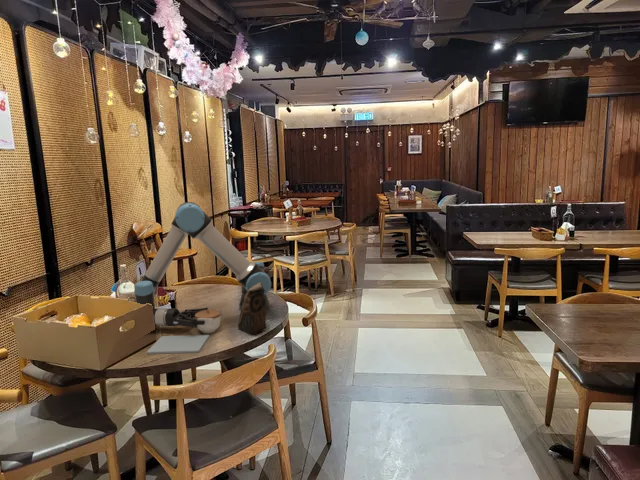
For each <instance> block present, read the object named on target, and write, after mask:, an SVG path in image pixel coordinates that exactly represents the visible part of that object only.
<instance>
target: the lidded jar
mask: <svg viewBox="0 0 640 480" xmlns="http://www.w3.org/2000/svg"><path fill="white" fill-rule="evenodd" d="M218 310H219V309H209V308H208V309H207V310H204V311H200V312H198V313H196V314H195V317H194V319H196V320H197V319H198V318H213V325H197V327H196V328H198V330H200V332H202V334H212V333H215V332H216V331H217V330H218V328H219V327H220V325H221V321H222V320H221V319H222V318H221V317H222V316H220V315H221V312H220V311H218Z"/></svg>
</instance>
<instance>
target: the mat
mask: <svg viewBox="0 0 640 480" xmlns="http://www.w3.org/2000/svg"><path fill="white" fill-rule="evenodd" d="M209 338H210V334H195V335H194V334H193V335H191V334H189V335H162V336H160V337H159V339H158V340H156V342H154V343H153V345H152V346H151V347H150V348H149V349H148V350H147V351H146V355H159V354H160V355H162V354H194V353H195V354H197V353H200V351H201V350H202V349H203V347H204V346H205V344H206V343H207V341H208V340H209Z"/></svg>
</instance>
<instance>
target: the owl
mask: <svg viewBox="0 0 640 480" xmlns="http://www.w3.org/2000/svg"><path fill="white" fill-rule="evenodd" d="M264 292H265V290H264V288H263V286H262V283H261V282H259V283H258V284H256V285H254V286H252V287H251V288H250V289H249V290H248V291H247V293H246V295H245V297H244V301H243V304H242V308H241V310H240V313H239V316H238V323H237V330H238V331H241V332H243V333H245V334H248V335H249V336H258V335H260V334H263V333H264V332H263V331H265V329H267V327H266V325H267V323H266V319H267V318H266V317H267V312H266V310H267V309H266V305H265V299H264Z"/></svg>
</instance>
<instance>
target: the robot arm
mask: <svg viewBox="0 0 640 480" xmlns="http://www.w3.org/2000/svg"><path fill="white" fill-rule="evenodd" d="M187 236H190V237H191V238H192V239H197V240H199V242H201V243H202V244H203V245H204V246H205V247H206V248H207V250H209V251H210V252H211V253H212V254H214V255H215V256H216V258H218V260H220V261H221V262H222V263H223V264H224V265H225V266H226V268H228V269H229V270H230V271H231V272H232V273H233V274H234V275H235V276H236V282H238V283H239V284H240V286H241V289H240V290H241V295H240V299H239V304H238V309H239V311H241V308H242V304H243V301H244V297H245V295H246V293H247V291H248V290H249V289H250V288H251V287H252V286H254V285H256V284H258V283H259V282H261V283H262V286H263V288H264V290H265V292H264V299H265V305H266V310H268V309H269V308H270V300H269V297H268V295H267V294H268V293H269V291H270V289H271V287H272V281H271V277H270V276H269V274H267V272H265V264H264V262H263V261H249V260H248V258H246V257H245V256H244V255H243V254H242V253H241V252H240V251H239V250H238V249H237V248H236V247H235V246H234V245H233V243H231V242H230V241H229V240H228V239H227V238H226V237H225V236H224V235H223V234H222V233H221V232H220V231H219V230H218V229H217V228H216V227H215V226H214V225H213V219H212V218H210V216H209V215H208V214H207V213H206V212H205V211H204V210H203V209H202V208H201V206H200V205H198V203H195V202H191V201H188V202H187V201H186V202H183V203H181V204H180V205H179V206H178V207H177V208H176V211H175V215H174V217H173V220H172V222H171V228H170V230H169V231H168V233H167V234H166V237H165V239H164V240H163V241H162V244H161V245H160V247H159V249H158V250H157V251H156V252H157V253H156V254H155V256H154V257H153V260H152V261H151V263H150V265H149V266H148V268H147V270H146V272H145V274H144V275H143V277H142V278H141V280H140V281H137V282H135V284H134V285H133V287H134V289H133V290H134V291H133V293H134V296H135V298H134V299H135V303H136V302H137V303H140V304H146V303H151V304H152V306H153V314H154V322H155V326H154V327H162V328H164V327H167V326H168V327H177V326H180V327H187V328H195V329H197V328H198V327H197V325H213V318H198V319H197V320H196V318H195V314H196V313H198V312H200V311H204V310H207V309H208V310H209V308H208V307H202V308H192V309H185V310H184V311H183V310H182V311H181V312H180V310H179V309H178V308H164V307H163V308H162V307H161V308H160V307H159V308H156V303H155V292H156V290H157V288H158V286H159V284H160V282H161V281H162V279H163V278H164V276H165V274H166V272H167V270H168V268H169V267H170V265H171V263H172V262H173V260H174V258H175V257H176V256H177V253H178V251H179V250H180V248H181V246H182V245H183V243H184V241H185V239H186V237H187ZM217 310H218V311H220V312H221V315H220V316H221V317H222V315H223V312H222V309H217Z"/></svg>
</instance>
